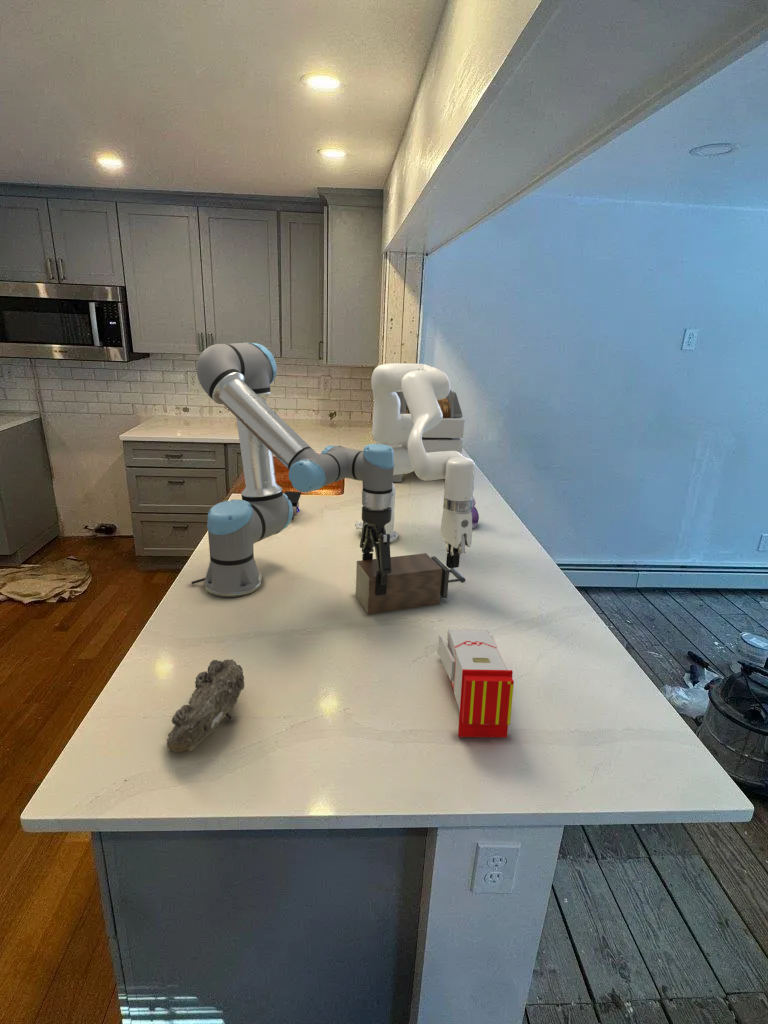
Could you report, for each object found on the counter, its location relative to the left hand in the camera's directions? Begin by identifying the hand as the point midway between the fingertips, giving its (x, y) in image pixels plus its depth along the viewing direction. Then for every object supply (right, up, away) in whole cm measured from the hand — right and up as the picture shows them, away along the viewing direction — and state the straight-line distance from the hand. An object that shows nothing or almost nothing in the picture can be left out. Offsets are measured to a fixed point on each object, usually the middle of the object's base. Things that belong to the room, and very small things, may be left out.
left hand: (373, 584), depth 150 cm
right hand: (+22, +4, +7) cm, 23 cm away
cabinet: (+6, -5, +4) cm, 9 cm away
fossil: (-30, -20, -42) cm, 56 cm away
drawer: (+12, -3, +6) cm, 14 cm away
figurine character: (-32, +18, +62) cm, 72 cm away
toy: (+21, -18, -32) cm, 42 cm away
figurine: (+34, +14, +60) cm, 70 cm away
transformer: (+20, +38, +125) cm, 132 cm away
